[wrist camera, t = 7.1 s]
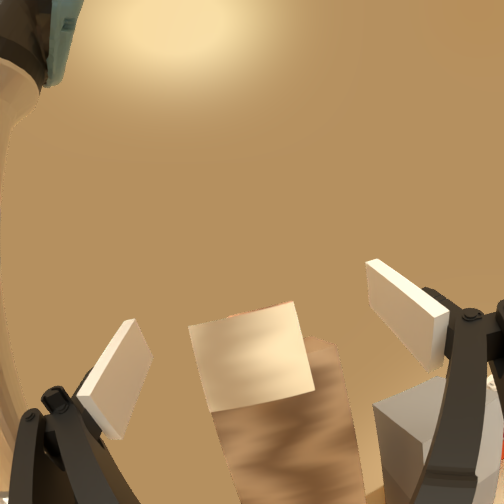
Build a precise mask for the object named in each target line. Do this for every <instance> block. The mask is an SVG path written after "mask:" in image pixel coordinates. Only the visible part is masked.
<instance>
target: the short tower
mask: <svg viewBox="0 0 504 504" xmlns="http://www.w3.org/2000/svg"><path fill="white" fill-rule="evenodd" d="M445 383H446V378H442V377H439V376H436V377H434V378H432V379H430V380H428V381H426V382H423V383H421V384H420V385H417V386H415V387H413V388H411V389H408V390H406V391H404V392H401V393H399V394H397V395H394V396H392V397H389V398H387V399H384V400H382V401H379V402H377V403H374V404H372V405H373V411H374V416H375V422H376V428H377V435H378V441H379V448H380V455H381V463H382V472H383V481H384V491H385V502H386V504H409V502H410V500H411V498H412V495H413V493H414V490H415V488H416V485H417V483H418V480H419V478H420V475H421V472H422V470H423V467H424V464H425V461H426V458H427V455H428V452H429V449H430V445H431V442H432V439H433V435H434V432H435V428H436V424H437V420H438V416H439V412H440V408H441V403H442V399H443V394H444V389H445ZM503 429H504V419H503V415H502V410H501V406H500V401H499V397H498V393H497V391H493V390H489V389H486V403H485V414H484V423H483V431H482V438H481V445H480V450H479V456H478V461H477V466H476V471H475V475H476V476H478V483H477V488H476V492H475V495H474V499H473V502H472V504H493V503H494V498H495V493H496V488H497V483H498V477H499V470H500V463H501V455H502V444H503Z"/></svg>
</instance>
